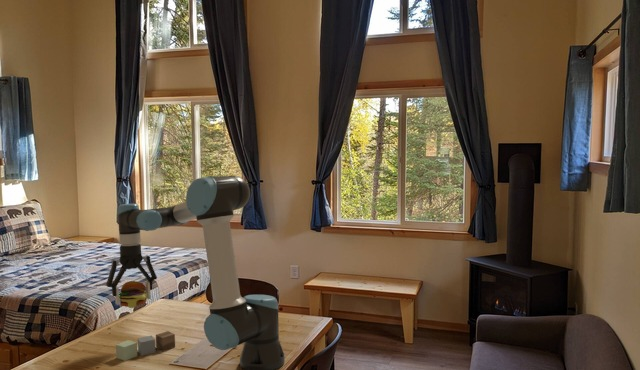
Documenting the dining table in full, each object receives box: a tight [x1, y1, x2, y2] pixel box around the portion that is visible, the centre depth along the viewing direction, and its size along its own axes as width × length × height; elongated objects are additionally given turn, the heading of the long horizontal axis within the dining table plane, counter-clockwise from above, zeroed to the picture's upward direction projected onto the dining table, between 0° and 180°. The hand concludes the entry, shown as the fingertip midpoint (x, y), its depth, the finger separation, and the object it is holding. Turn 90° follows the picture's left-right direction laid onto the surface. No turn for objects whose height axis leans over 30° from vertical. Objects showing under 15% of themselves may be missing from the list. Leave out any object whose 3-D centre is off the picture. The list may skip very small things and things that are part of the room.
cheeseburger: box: [119, 280, 148, 309], centre depth 184 cm, size 10×11×10 cm
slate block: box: [137, 335, 156, 356], centre depth 177 cm, size 5×5×5 cm
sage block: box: [115, 339, 138, 362], centre depth 172 cm, size 5×5×5 cm
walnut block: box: [155, 330, 176, 352], centre depth 181 cm, size 5×5×5 cm
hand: (133, 301), depth 185 cm, fingers closed on cheeseburger, 11 cm apart
